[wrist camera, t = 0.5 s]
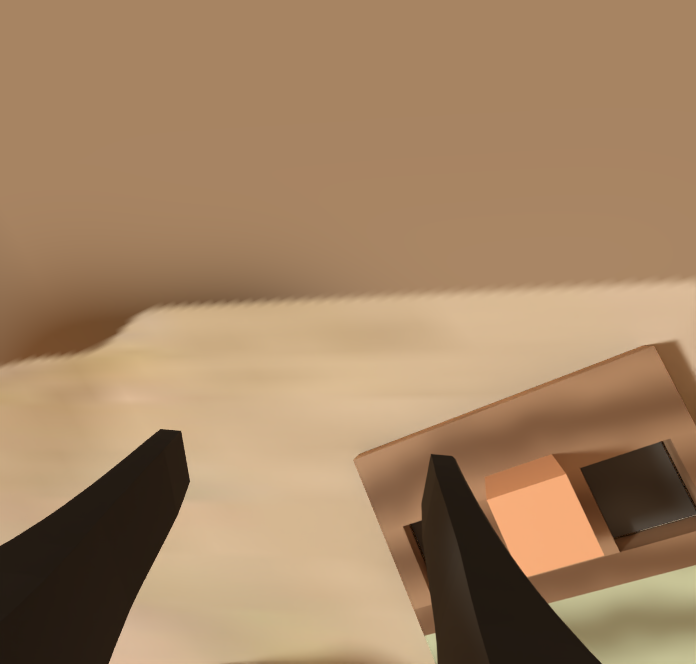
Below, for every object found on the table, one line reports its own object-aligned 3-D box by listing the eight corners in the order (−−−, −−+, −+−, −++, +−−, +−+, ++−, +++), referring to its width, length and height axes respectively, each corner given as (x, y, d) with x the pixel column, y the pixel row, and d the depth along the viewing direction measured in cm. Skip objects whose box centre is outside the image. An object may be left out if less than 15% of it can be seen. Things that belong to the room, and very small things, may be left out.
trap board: (787, 624, 29) (809, 643, 27) (458, 696, 34) (457, 717, 33) (643, 345, 32) (654, 345, 30) (359, 454, 37) (353, 459, 35)
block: (583, 522, 31) (604, 555, 26) (514, 543, 32) (521, 578, 27) (551, 454, 31) (566, 473, 26) (484, 477, 32) (486, 500, 28)
